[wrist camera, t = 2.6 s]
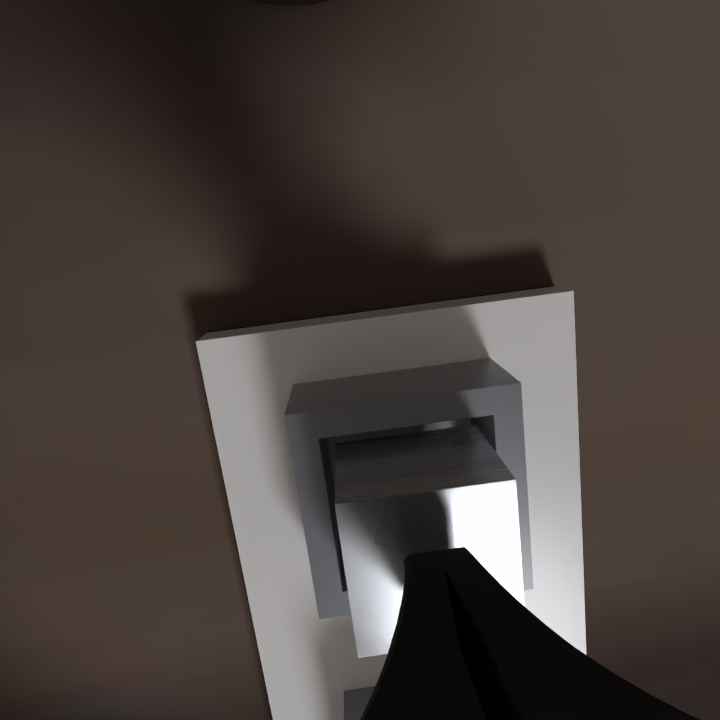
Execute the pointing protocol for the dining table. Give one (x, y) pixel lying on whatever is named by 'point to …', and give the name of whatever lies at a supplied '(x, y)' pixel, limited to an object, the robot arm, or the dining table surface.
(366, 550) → the button grey
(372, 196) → the dining table surface
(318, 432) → the console
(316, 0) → the olive oil
